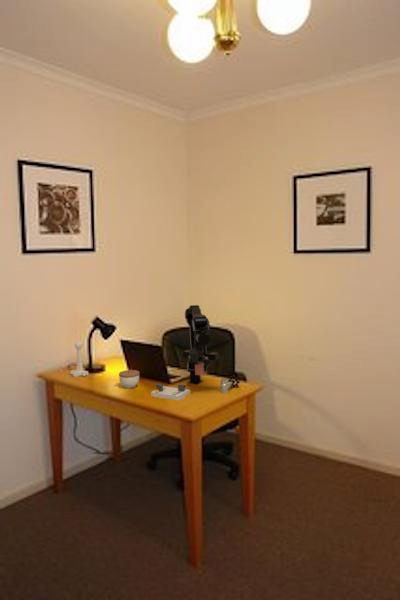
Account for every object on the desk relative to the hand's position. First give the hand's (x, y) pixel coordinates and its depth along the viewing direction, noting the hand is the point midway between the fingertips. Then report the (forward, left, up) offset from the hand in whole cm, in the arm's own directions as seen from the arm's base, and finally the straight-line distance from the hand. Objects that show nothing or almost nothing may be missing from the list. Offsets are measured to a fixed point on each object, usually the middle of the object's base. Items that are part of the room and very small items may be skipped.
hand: (201, 371), depth 234 cm
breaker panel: (+9, -13, -11) cm, 19 cm away
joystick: (0, -81, -11) cm, 82 cm away
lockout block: (0, 0, -1) cm, 1 cm away
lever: (+6, -8, -9) cm, 13 cm away
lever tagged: (+11, -18, -9) cm, 23 cm away
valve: (-10, +11, -11) cm, 18 cm away
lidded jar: (+6, -40, -11) cm, 42 cm away
